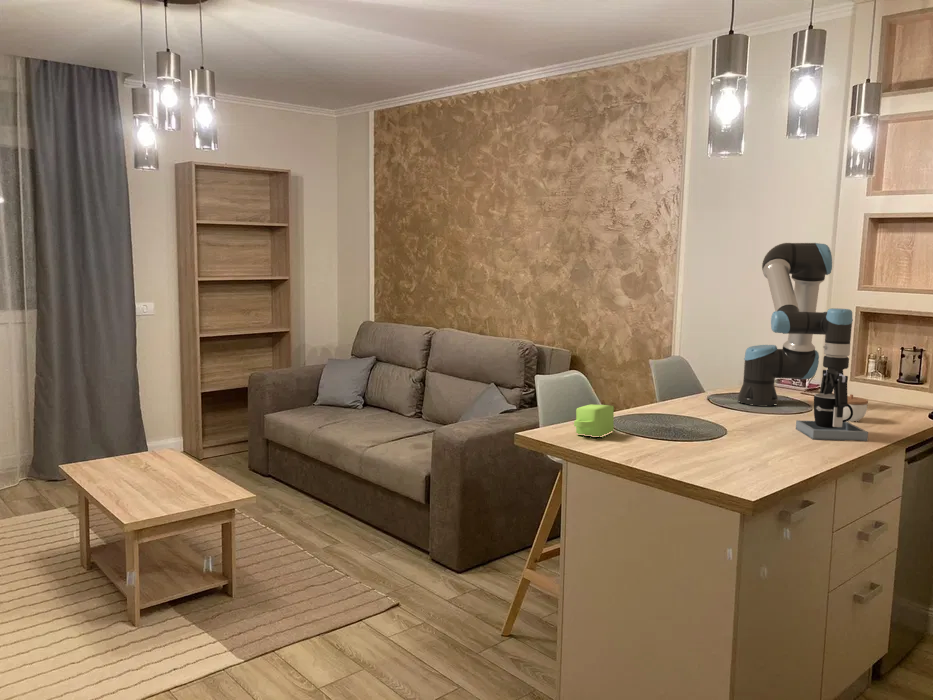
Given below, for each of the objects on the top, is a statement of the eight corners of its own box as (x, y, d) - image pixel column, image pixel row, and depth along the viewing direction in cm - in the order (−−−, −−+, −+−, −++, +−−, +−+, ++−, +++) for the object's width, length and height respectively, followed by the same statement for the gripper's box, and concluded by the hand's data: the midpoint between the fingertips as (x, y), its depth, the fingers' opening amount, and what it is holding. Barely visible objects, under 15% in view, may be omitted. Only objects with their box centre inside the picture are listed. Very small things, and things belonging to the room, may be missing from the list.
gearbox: (592, 428, 254) (592, 400, 254) (619, 431, 249) (619, 403, 248) (567, 437, 240) (567, 408, 239) (595, 440, 234) (595, 410, 233)
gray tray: (795, 428, 256) (796, 420, 255) (846, 430, 255) (847, 421, 254) (812, 439, 241) (813, 430, 240) (867, 441, 240) (868, 432, 239)
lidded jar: (863, 418, 275) (865, 393, 274) (868, 424, 265) (870, 398, 264) (831, 415, 278) (833, 391, 277) (835, 421, 268) (837, 396, 267)
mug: (808, 426, 247) (810, 396, 246) (816, 421, 254) (818, 392, 253) (848, 432, 239) (850, 400, 238) (855, 427, 246) (857, 397, 245)
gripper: (811, 351, 255) (806, 416, 258) (838, 360, 234) (833, 430, 237) (834, 351, 255) (829, 416, 258) (863, 360, 234) (857, 431, 236)
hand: (831, 423), depth 247 cm, fingers closed on mug, 9 cm apart
